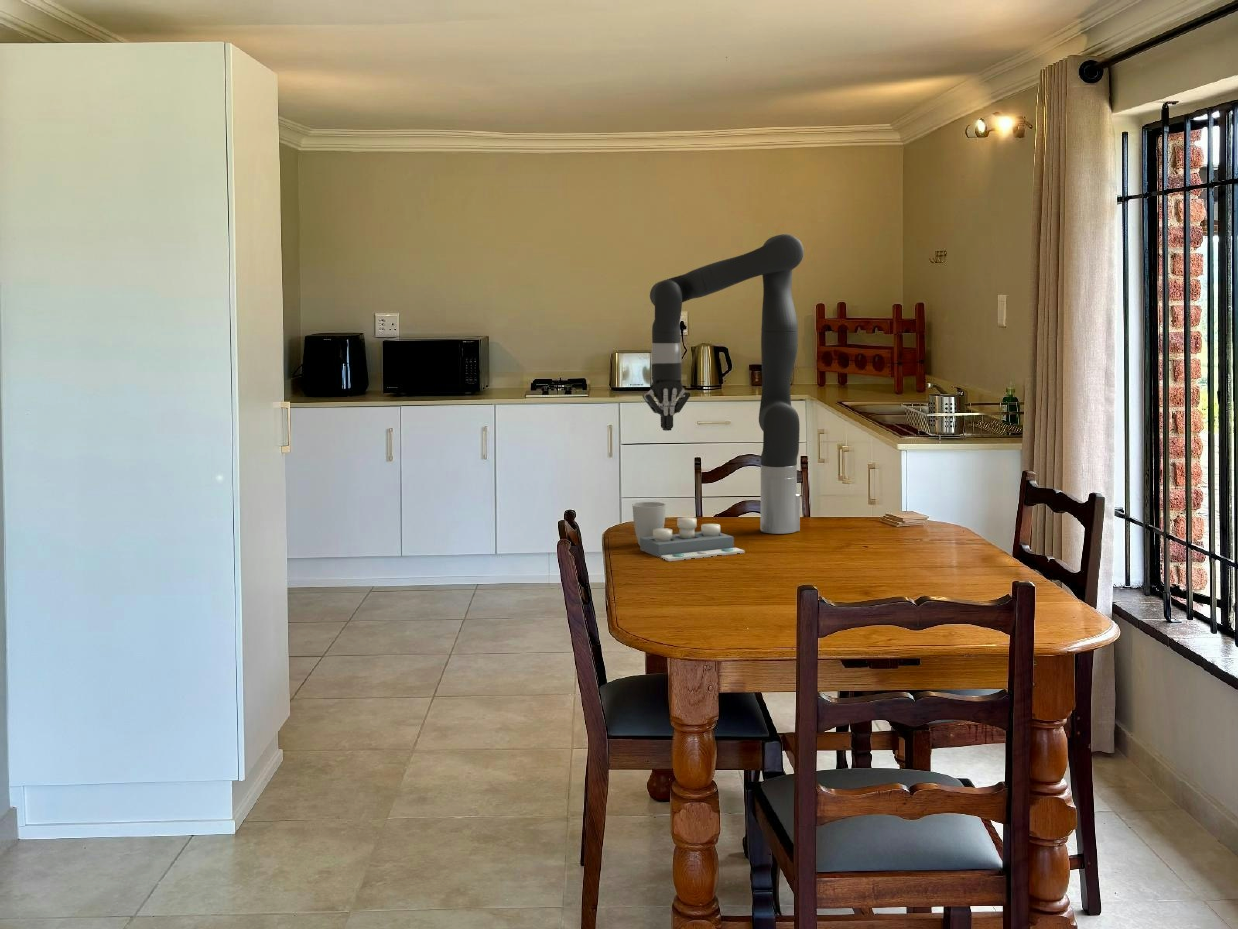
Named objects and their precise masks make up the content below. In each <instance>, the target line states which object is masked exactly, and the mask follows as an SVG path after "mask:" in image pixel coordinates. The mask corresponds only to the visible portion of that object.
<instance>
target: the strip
mask: <svg viewBox="0 0 1238 929" xmlns="http://www.w3.org/2000/svg"><path fill="white" fill-rule="evenodd" d="M737 553H740V554H745V553H746V551H745V549H742V548H741V549H740V548H738V547H734V548H725V549H718V550H709V551H698V552H690V553H681V554H672V555H662V556H661V557H660V558H661V559H662V558H663V559H662V560H664V559H665V561H667V562H677V561H683V560H684V559H686V560H692V559H691V558H695V559H701V558H703V557H704V558H711V556H713V557H718V556H717V555H722V556H729V555H737ZM704 558H703V559H704ZM684 561H685V560H684Z"/></svg>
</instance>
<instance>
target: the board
mask: <svg viewBox="0 0 1238 929" xmlns="http://www.w3.org/2000/svg"><path fill="white" fill-rule="evenodd" d="M694 532H695V538H693V539H681V538H679V533H675V534H674V533H672V539H670V541H665V542H657V541H655V539H653V536H651V537H641V538H640V545H639V546H640V547H639V548H640V549H639V550H640V551H641V552H644V551H645V553H647V554H648V555H649V554H650V555H652V556H655V557H656V558H657V557H658V558H661V556H662V555H672V554H681V553H690V552H698V551H709V550H718V549H725V548H735V537H734V536H732V535H729V534H725V533H722V532H720V534H719V535H718V536H714V537H705V536H703V534H701V531H694Z"/></svg>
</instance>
